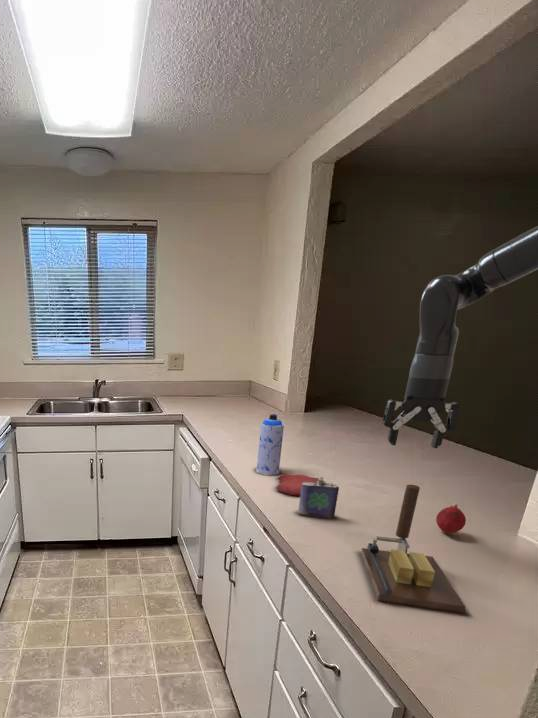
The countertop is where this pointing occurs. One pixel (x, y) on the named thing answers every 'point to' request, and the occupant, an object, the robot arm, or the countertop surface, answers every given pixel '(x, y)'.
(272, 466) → the aerosol can
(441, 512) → the onion
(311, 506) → the flask
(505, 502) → the countertop surface
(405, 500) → the wooden handled slicer
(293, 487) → the patty
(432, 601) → the butter board
